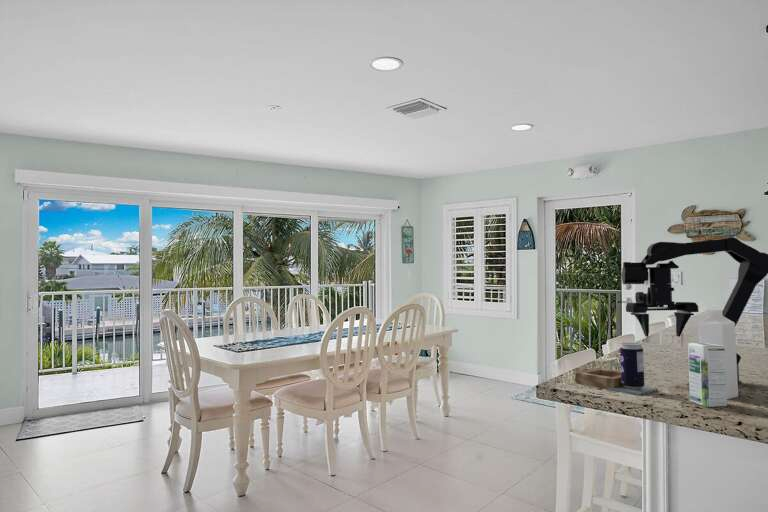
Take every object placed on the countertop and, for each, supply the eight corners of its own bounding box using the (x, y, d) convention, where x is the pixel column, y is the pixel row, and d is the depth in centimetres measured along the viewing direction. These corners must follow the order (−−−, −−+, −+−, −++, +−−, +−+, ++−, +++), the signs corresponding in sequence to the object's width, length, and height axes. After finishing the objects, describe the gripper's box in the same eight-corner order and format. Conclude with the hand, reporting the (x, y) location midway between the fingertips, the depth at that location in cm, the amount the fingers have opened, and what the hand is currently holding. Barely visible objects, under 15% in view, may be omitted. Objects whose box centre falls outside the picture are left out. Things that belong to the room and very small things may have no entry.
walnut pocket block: (637, 384, 144) (637, 373, 145) (613, 390, 138) (613, 379, 138) (599, 377, 154) (599, 368, 154) (575, 382, 148) (575, 372, 148)
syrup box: (688, 401, 124) (686, 342, 125) (711, 400, 125) (708, 342, 125) (705, 407, 119) (702, 345, 119) (728, 406, 119) (725, 345, 120)
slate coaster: (657, 390, 136) (657, 388, 136) (639, 395, 131) (639, 393, 131) (625, 385, 144) (625, 383, 144) (607, 389, 139) (607, 387, 139)
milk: (738, 396, 128) (735, 310, 129) (725, 400, 125) (722, 311, 126) (713, 392, 134) (710, 309, 135) (700, 395, 131) (697, 310, 132)
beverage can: (635, 385, 141) (633, 342, 141) (649, 389, 135) (647, 344, 136) (617, 386, 140) (615, 342, 140) (630, 390, 134) (628, 345, 135)
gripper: (677, 283, 158) (679, 333, 157) (617, 284, 159) (619, 333, 158) (698, 283, 147) (700, 337, 146) (633, 284, 147) (635, 338, 147)
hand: (662, 336), depth 149 cm, fingers open, 9 cm apart
